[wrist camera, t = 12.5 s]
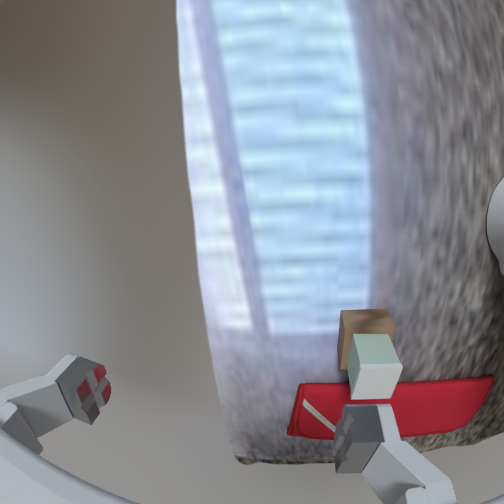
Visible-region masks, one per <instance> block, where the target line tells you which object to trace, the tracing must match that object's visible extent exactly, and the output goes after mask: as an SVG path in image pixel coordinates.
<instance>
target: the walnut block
mask: <svg viewBox="0 0 504 504" xmlns="http://www.w3.org/2000/svg"><path fill="white" fill-rule="evenodd" d="M395 327H396V325H395V323H394V321H393V319H392V317H391V315H390V313H389V311H388V309H387V308H385V309H365V310H341V314H340V327H339V338H338V348H337V351H338V357H339V364H340V370H342V369H347V365H346V361H347V357H348V353H349V349H350V345H351V341H352V336H353V334H389V337H390V339H391V342H392V343H393V338H394V332H395Z"/></svg>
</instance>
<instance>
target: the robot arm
mask: <svg viewBox="0 0 504 504" xmlns="http://www.w3.org/2000/svg"><path fill="white" fill-rule="evenodd" d="M487 235H488V240H489V244H490V246H491V249H492V251H493V253H494V254H495V255H496V257H497V259H498V261H499V267H500V272H501V274H502V275H503V276H504V179H502V181H501V182H500V183H499V184H498V186H497V187H496V189H495V191H494V193H493V195H492V198H491V201H490V204H489V208H488V214H487ZM105 374H106V370H105V367H104V366H103V365H101V364H99V363H96V362H93V361H91V360H88V359H85V358H82V357H79V356H77V355H74V354H72V353H70V354H66V355H65V357H63V359H61V360H60V362H58V364H56V365H55V366H54V367H53V368H52V369H51V370H50V371H49V373H47V375H46V376H39V377H35V378H32V379H29V380H26V381H23V382H20V383H17V384H13V385H10V386H7V387H4V388H0V504H138V503H135V502H133V501H130V500H127V499H125V498H122V497H120V496H117V495H115V494H112V493H110V492H108V491H106V490H103V489H101V488H99V487H97V486H94V485H92V484H90V483H88V482H86V481H84V480H82V479H80V478H78V477H76V476H74V475H72V474H70V473H69V472H67V471H65V470H63V469H61V468H60V467H58V466H56V465H54V464H52V463H51V462H49V461H47V460H46V459H44V458H42V457H41V456H39V455H40V453H41V452H42V451H43V447H42V445H41V444H40V443H39V441H38V439H37V438H38V437H40V436H42V435H44V434H45V433H47V432H49V431H51V430H53V429H55V428H57V427H59V426H61V425H62V424H64V423H66V422H68V421H70V420H72V419H73V418H76V419H78V420H81V421H83V422H85V423H88V424H90V425H92V424H93V422H94V421H95V419H96V418H97V416H98V415H99V413H100V410H99V407H102V406H104V405H106V403H107V402H108V400H109V398H110V394H111V386H110V383H109V381H108V380H107V379H106V378H105ZM341 413H342V419H340V420H339V421H338V422H337V425H336V429H335V434H334V447H335V448H336V449H337V450H338V452H337V454H336V456H335V467H336V473H361V475H362V476H363V477H364V479H365V480H366V482H367V483H368V484H369V486H370V487H371V488H372V489H373V491H374V492H375V493H376V494H377V496H378V497H379V498H380V500H381V501H382V502H383V503H384V504H457V501H456V497H455V493H454V490H453V486H452V482H451V479H449V478H448V477H447V476H446V475H445V474H443V473H442V472H441V471H440V470H438V469H437V468H436V467H435V466H434V465H433V464H432V463H430V462H429V461H428V460H427V459H426V458H425V457H423V456H422V455H421V454H420V453H419V452H418V451H416V450H415V449H414V448H413V447H412V446H411V445H409V444H408V443H407V442H406V441H401V438H400V434H399V431H398V427H397V423H396V420H395V416H394V413H393V409H392V406H391V405H390V404H375V405H374V404H359V405H349V404H345V406H344V407H343V409H342V412H341ZM481 504H504V494H503V495H500V496H498V497H495V498H493V499H491V500H488V501H486V502H483V503H481Z"/></svg>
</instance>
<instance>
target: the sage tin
mask: <svg viewBox="0 0 504 504" xmlns="http://www.w3.org/2000/svg"><path fill="white" fill-rule="evenodd" d="M346 365H347V370H348V376H349V383H350V389H351V395H350V396H351V400H353V399H387V398H391V396H392V393H393V391H394V389H395V386H396V384H397V381H398V379H399V376H400V374H401V371H402V369H403V367H402V364H401V363H400V362H399V359H398V357H397V354H396V352H395V349H394V347H393V344H392V342H391V339H390V337H389V334H353V336H352V341H351V345H350V349H349V353H348V357H347V361H346Z"/></svg>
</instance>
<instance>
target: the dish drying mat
mask: <svg viewBox="0 0 504 504" xmlns="http://www.w3.org/2000/svg"><path fill="white" fill-rule="evenodd" d="M493 382H494V376H493V375H491V376H482V377H473V378H461V379H448V380H436V381H417V382H397V384H396V386H395V389H394V391H393V393H392V396H391V398H387V399H353V400H351V396H350V395H351V389H350V383H306V384H302V383H301V384H300V385H299V387H298V391H297V394H296V399H295V403H294V407H293V411H292V416H291V419H290V423H289V426H288V428H287V435H291V436H300V437H306V438H310V439H324V440H334V434H335V429H336V425H337V422H338V421H339V420H340V419H342V413H341V412H342V409H343V407H344V406H345V404H349V405H359V404H374V405H375V404H390V405H391V406H392V409H393V413H394V416H395V420H396V423H397V427H398V431H399V434H400V437H412V436H421V435H430V434H439V433H447V432H451V431H454V430H456V429H458V428H460V427H464V426H465V425H466V424H467V423H468V422H469V421H470V420H471V419H472V418H473V417H474V416H475V414H476V413H477V412H478V410H479V409H480V407H481V406H482V404H483V403H484V401H485V399H486V397H487V395H488V394H489V391H490V389H491V387H492V385H493Z"/></svg>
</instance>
